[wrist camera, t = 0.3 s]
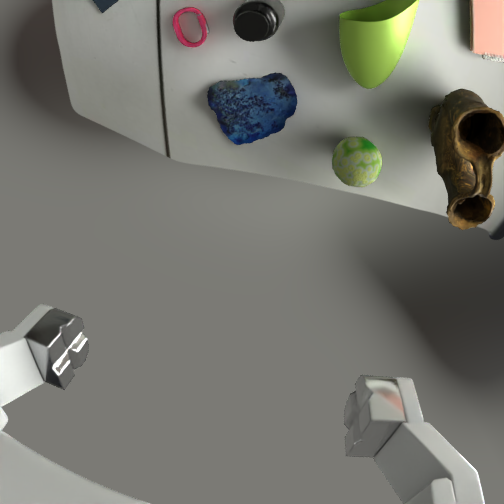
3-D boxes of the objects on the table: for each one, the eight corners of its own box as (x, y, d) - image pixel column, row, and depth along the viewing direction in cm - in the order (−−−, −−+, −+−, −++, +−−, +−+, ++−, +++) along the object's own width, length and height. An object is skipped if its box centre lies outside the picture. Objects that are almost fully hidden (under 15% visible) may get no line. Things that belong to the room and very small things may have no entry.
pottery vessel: (469, 171, 57) (495, 241, 46) (426, 173, 61) (444, 244, 50) (475, 67, 39) (525, 122, 28) (422, 66, 43) (459, 120, 32)
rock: (203, 84, 56) (200, 88, 55) (290, 67, 50) (289, 71, 49) (227, 142, 67) (225, 147, 66) (306, 132, 61) (305, 137, 60)
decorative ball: (336, 168, 67) (336, 200, 61) (327, 130, 59) (326, 159, 54) (381, 163, 63) (386, 195, 57) (376, 124, 56) (382, 153, 50)
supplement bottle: (237, 3, 41) (216, 16, 35) (273, -12, 38) (261, -4, 31) (256, 34, 46) (240, 54, 39) (292, 21, 43) (284, 37, 36)
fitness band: (212, 41, 48) (210, 44, 47) (183, 48, 50) (180, 51, 49) (200, 3, 42) (197, 4, 41) (170, 12, 44) (167, 13, 43)
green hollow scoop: (349, -20, 29) (339, 97, 46) (430, -4, 28) (408, 102, 45) (335, -27, 33) (330, 75, 50) (408, -15, 32) (393, 80, 49)
